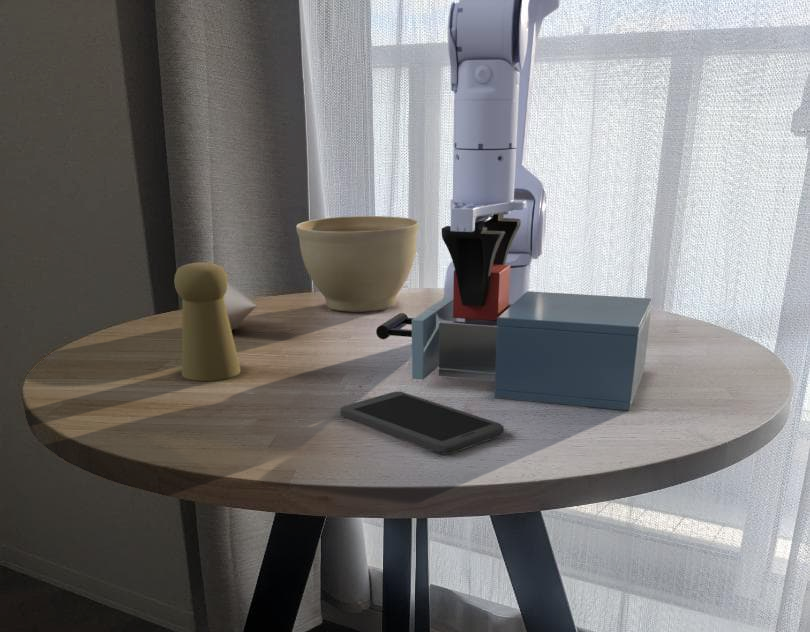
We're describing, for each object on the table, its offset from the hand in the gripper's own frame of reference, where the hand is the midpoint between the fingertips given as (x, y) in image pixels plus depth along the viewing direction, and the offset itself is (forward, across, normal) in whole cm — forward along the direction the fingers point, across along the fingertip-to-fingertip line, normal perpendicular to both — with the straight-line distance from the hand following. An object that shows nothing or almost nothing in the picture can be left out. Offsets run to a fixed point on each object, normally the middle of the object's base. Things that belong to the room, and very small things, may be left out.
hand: (480, 300), depth 85 cm
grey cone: (+8, +9, +34) cm, 36 cm away
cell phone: (+8, -16, +1) cm, 18 cm away
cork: (+8, -7, +27) cm, 29 cm away
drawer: (+7, 0, +2) cm, 7 cm away
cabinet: (+8, 0, -10) cm, 12 cm away
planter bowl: (+8, +28, +24) cm, 38 cm away
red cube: (+1, 0, 0) cm, 1 cm away
